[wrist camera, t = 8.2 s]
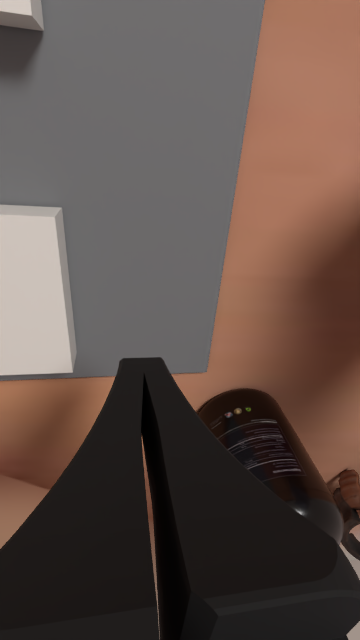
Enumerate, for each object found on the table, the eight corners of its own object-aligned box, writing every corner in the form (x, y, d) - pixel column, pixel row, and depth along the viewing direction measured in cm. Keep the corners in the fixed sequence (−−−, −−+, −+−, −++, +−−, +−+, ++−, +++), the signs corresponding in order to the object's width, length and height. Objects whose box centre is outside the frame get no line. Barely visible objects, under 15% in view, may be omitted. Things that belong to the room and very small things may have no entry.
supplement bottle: (282, 432, 26) (385, 627, 16) (202, 457, 26) (254, 667, 16) (273, 372, 22) (401, 575, 12) (181, 401, 22) (231, 627, 12)
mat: (327, -436, 8) (337, -460, 8) (205, 368, 21) (206, 372, 21) (-463, -791, 5) (-502, -853, 5) (-45, 377, 18) (-49, 382, 18)
